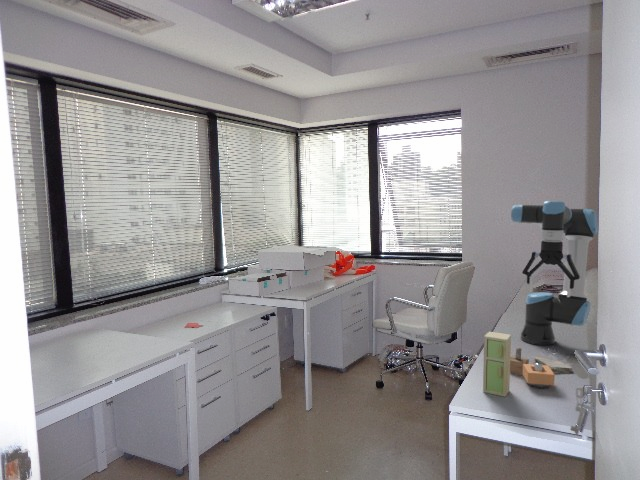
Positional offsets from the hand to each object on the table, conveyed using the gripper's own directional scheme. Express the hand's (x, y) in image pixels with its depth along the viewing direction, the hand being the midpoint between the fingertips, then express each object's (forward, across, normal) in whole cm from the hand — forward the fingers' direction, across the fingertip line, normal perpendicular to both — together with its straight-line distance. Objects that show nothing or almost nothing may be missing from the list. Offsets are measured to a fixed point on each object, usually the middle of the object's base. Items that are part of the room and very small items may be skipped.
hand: (549, 294), depth 182 cm
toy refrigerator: (+32, -10, -31) cm, 46 cm away
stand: (+32, -9, -6) cm, 33 cm away
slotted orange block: (+30, 0, -15) cm, 33 cm away
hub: (+32, 0, -15) cm, 35 cm away
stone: (+32, +1, +7) cm, 33 cm away
